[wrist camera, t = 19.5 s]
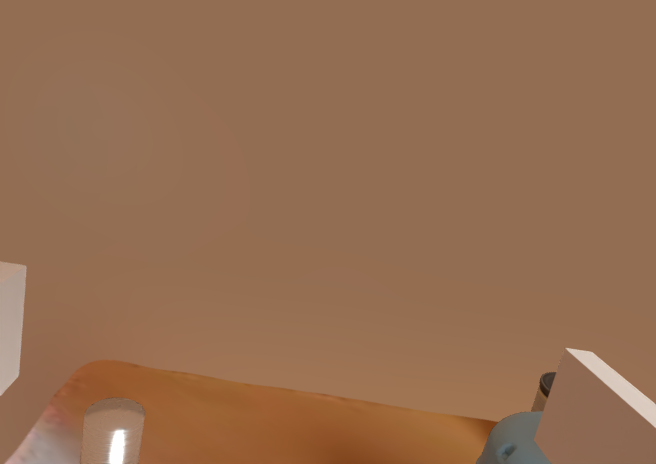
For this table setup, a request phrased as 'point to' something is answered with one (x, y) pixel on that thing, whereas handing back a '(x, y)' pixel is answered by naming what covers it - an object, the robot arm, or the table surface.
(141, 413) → the long steel pin
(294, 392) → the table surface
